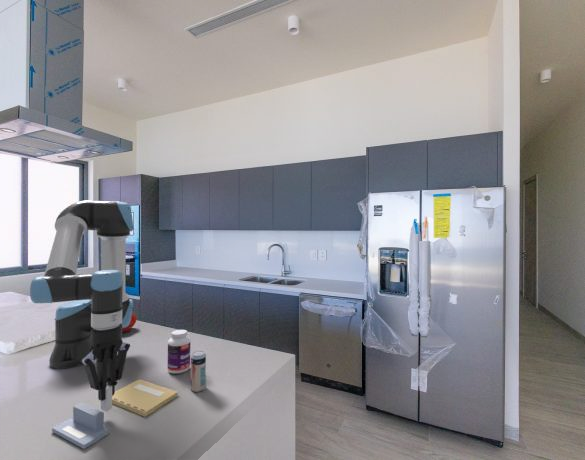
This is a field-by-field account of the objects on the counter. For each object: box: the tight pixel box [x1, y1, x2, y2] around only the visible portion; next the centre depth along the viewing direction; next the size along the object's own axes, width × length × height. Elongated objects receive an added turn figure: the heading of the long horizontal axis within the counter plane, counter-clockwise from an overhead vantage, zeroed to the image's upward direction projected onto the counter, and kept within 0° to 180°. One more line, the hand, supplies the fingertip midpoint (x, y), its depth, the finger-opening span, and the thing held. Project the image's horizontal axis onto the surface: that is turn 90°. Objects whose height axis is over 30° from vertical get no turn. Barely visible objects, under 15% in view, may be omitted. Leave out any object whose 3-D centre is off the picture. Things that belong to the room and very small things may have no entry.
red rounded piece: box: [122, 312, 137, 333], centre depth 154 cm, size 14×16×10 cm
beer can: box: [190, 350, 207, 393], centre depth 100 cm, size 5×5×12 cm
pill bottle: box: [167, 329, 191, 375], centre depth 113 cm, size 8×8×14 cm
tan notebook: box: [112, 379, 179, 418], centre depth 94 cm, size 18×12×1 cm, turn 65°
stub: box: [51, 402, 110, 450], centre depth 78 cm, size 14×6×5 cm, turn 65°
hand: (106, 408), depth 84 cm, fingers closed
